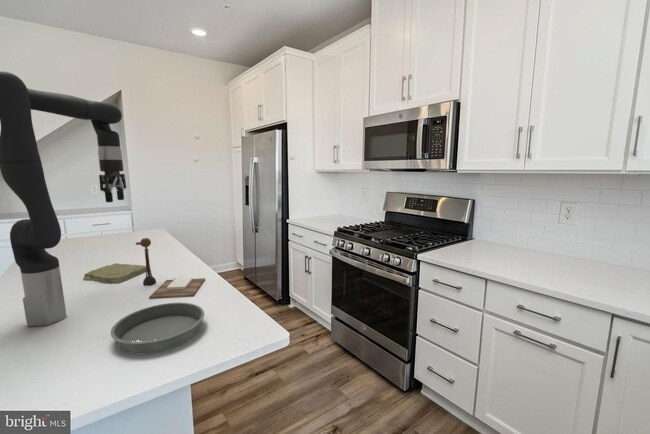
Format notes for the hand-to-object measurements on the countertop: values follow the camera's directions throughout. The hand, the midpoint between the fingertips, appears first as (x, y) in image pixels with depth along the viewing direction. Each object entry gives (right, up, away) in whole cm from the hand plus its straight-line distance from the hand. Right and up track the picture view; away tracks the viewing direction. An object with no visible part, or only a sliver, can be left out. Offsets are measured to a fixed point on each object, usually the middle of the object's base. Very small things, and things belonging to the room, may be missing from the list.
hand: (115, 201), depth 124 cm
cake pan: (+33, -41, -29) cm, 60 cm away
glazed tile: (+22, -34, +7) cm, 41 cm away
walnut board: (+22, -36, +6) cm, 42 cm away
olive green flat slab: (-14, -34, +22) cm, 43 cm away
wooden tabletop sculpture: (+7, -35, +11) cm, 37 cm away
